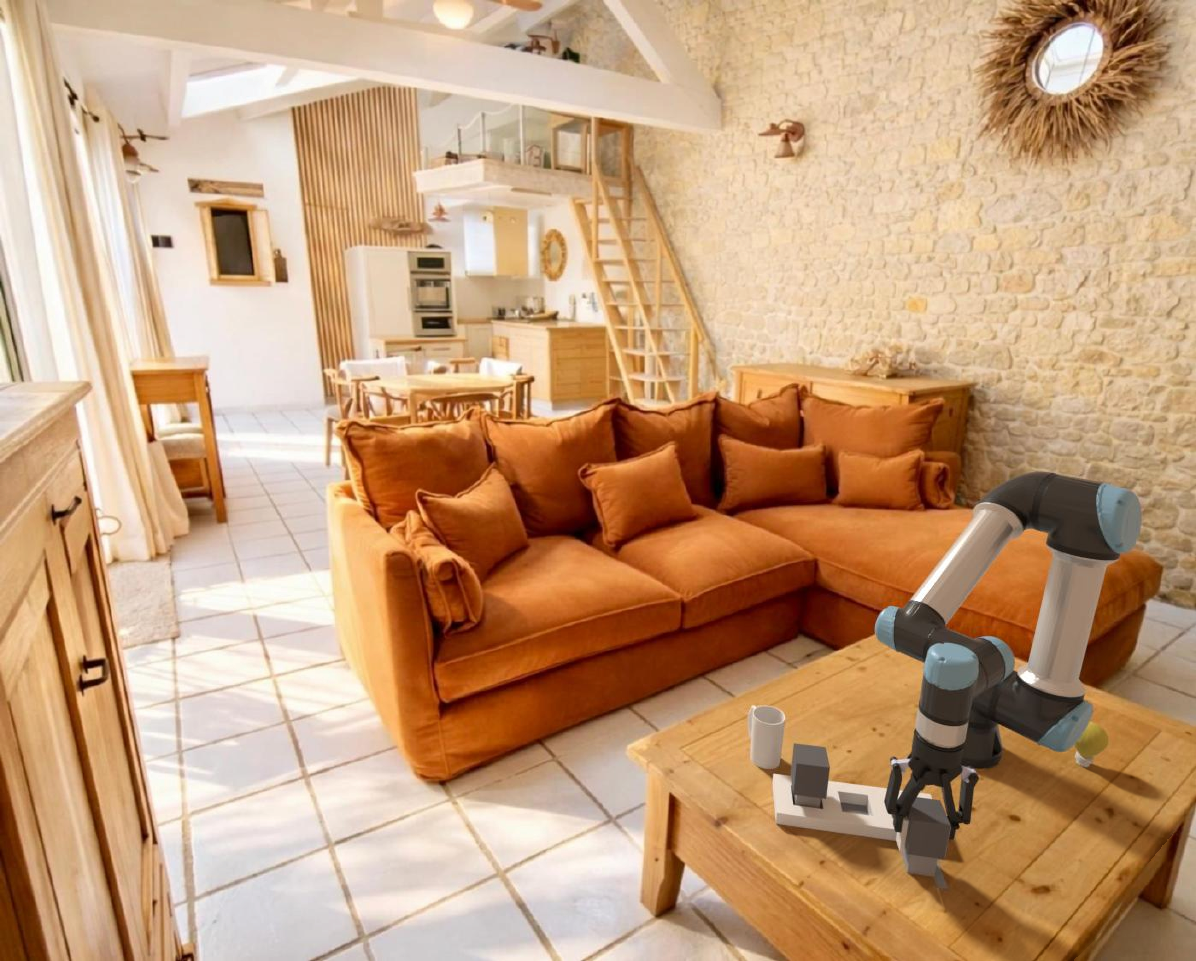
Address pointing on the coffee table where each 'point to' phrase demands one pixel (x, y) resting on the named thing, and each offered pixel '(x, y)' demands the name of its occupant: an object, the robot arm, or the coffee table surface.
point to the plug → (925, 836)
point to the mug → (766, 735)
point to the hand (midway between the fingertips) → (920, 848)
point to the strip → (838, 809)
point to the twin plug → (809, 775)
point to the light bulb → (1090, 744)
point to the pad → (939, 877)
